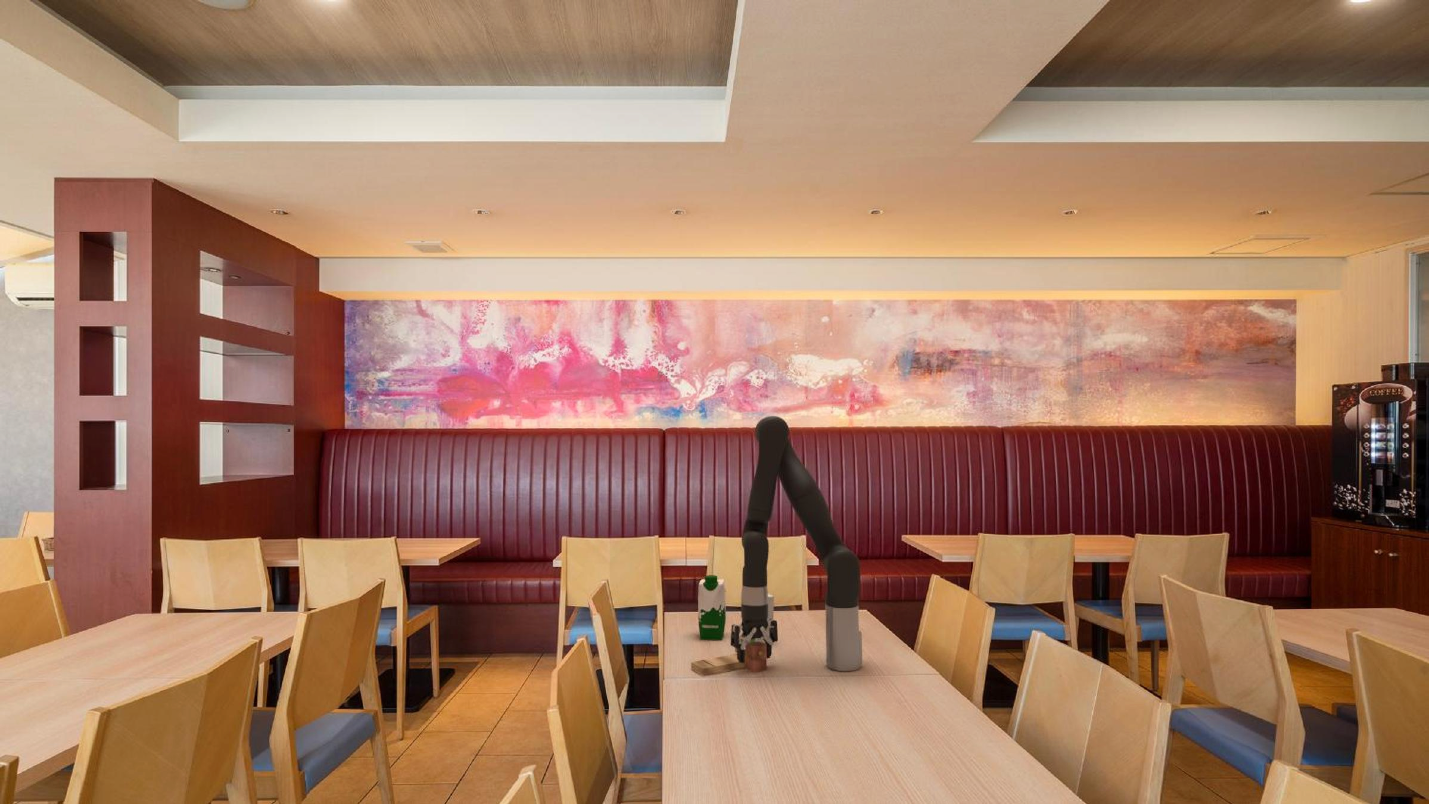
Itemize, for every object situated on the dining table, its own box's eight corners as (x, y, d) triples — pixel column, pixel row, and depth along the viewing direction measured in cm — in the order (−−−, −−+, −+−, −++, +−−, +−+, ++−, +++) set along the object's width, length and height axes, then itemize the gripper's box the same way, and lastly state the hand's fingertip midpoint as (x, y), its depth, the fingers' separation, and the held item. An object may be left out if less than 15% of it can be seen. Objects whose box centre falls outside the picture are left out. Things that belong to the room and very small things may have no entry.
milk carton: (697, 640, 235) (696, 577, 236) (700, 633, 244) (700, 572, 245) (724, 641, 234) (723, 577, 235) (726, 633, 243) (726, 572, 244)
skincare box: (743, 641, 234) (743, 591, 235) (762, 638, 237) (761, 589, 238) (756, 648, 226) (755, 596, 227) (775, 645, 229) (774, 594, 230)
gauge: (743, 658, 216) (743, 634, 216) (768, 670, 205) (767, 644, 205) (730, 661, 213) (730, 636, 214) (754, 673, 203) (754, 647, 203)
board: (748, 658, 216) (748, 651, 216) (761, 664, 210) (761, 657, 210) (691, 669, 206) (691, 661, 206) (703, 676, 200) (703, 668, 200)
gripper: (768, 596, 214) (767, 653, 213) (726, 601, 207) (725, 660, 206) (783, 601, 207) (783, 659, 206) (740, 606, 200) (739, 667, 199)
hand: (754, 659), depth 206 cm, fingers open, 8 cm apart
